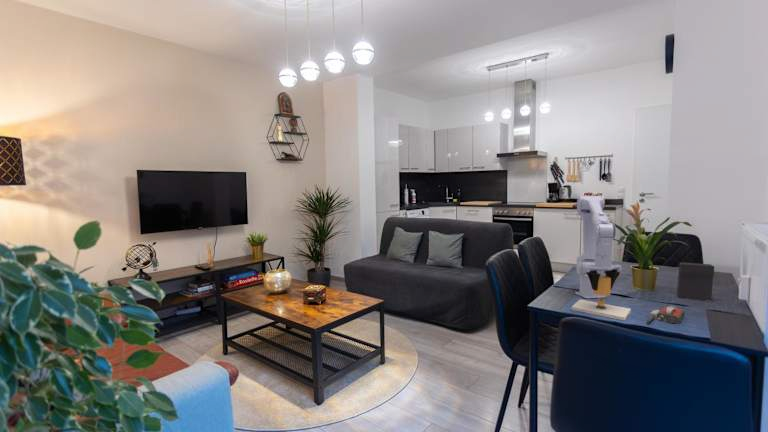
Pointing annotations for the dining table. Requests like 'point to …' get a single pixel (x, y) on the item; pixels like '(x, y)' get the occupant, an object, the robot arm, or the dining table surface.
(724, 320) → the dining table surface
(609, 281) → the cap
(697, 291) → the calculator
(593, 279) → the robot arm
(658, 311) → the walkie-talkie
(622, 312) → the plate
